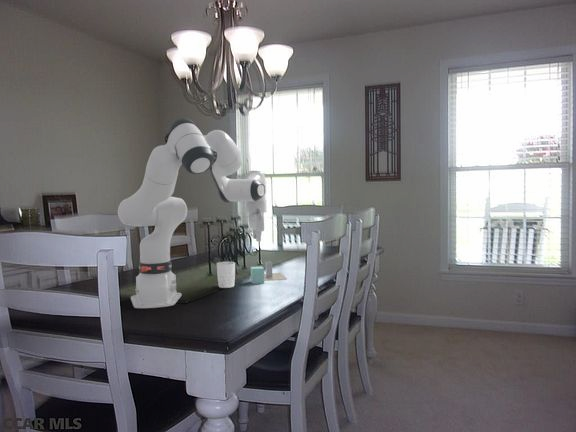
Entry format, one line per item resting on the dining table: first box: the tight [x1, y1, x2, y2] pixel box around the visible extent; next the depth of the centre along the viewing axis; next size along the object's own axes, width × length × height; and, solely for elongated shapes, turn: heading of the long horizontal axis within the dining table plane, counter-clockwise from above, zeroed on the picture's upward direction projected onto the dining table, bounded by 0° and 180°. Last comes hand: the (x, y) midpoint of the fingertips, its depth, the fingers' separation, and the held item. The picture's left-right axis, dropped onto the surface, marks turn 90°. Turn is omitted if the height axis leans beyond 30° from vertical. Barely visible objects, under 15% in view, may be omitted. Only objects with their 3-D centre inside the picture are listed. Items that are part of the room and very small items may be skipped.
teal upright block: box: [250, 265, 265, 285], centre depth 203 cm, size 5×5×7 cm
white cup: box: [216, 261, 236, 289], centre depth 196 cm, size 8×8×10 cm
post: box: [264, 261, 288, 282], centre depth 214 cm, size 14×14×7 cm
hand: (256, 239), depth 202 cm, fingers open, 8 cm apart
